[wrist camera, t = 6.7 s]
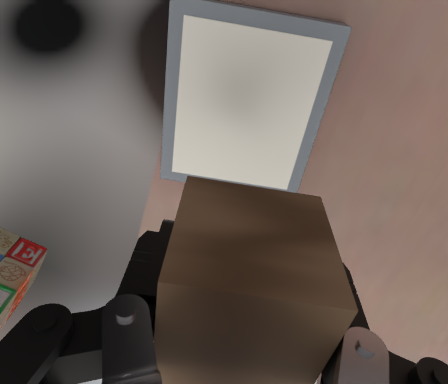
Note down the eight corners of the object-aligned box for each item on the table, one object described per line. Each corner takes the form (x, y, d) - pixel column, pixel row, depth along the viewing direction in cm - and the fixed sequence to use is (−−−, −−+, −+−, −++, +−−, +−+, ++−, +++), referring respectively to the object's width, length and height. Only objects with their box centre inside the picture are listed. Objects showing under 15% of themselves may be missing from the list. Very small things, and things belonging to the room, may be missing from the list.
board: (344, 23, 24) (352, 27, 22) (292, 187, 31) (294, 200, 30) (175, -8, 23) (169, -6, 21) (164, 167, 31) (159, 179, 29)
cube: (320, 196, 12) (358, 311, 8) (286, 285, 15) (301, 404, 11) (187, 175, 12) (157, 281, 8) (177, 269, 15) (151, 384, 11)
